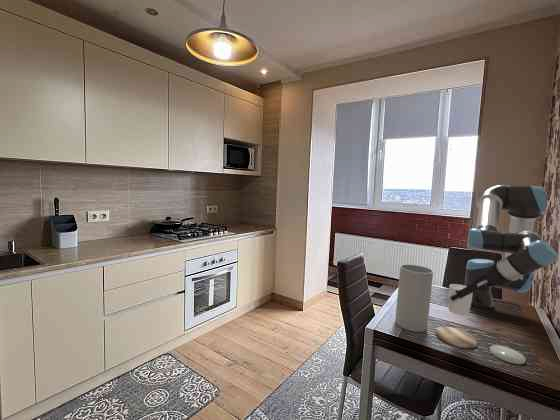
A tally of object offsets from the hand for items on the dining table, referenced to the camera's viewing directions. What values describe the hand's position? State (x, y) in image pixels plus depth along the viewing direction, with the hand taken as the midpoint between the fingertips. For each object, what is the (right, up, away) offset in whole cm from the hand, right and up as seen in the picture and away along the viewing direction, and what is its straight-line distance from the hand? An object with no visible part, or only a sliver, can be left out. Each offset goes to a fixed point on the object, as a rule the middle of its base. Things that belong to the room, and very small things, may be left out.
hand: (450, 300), depth 114 cm
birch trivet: (+1, -15, -1) cm, 15 cm away
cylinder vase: (-12, -13, +8) cm, 20 cm away
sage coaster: (+14, -16, -12) cm, 24 cm away
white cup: (+2, -4, -2) cm, 5 cm away
